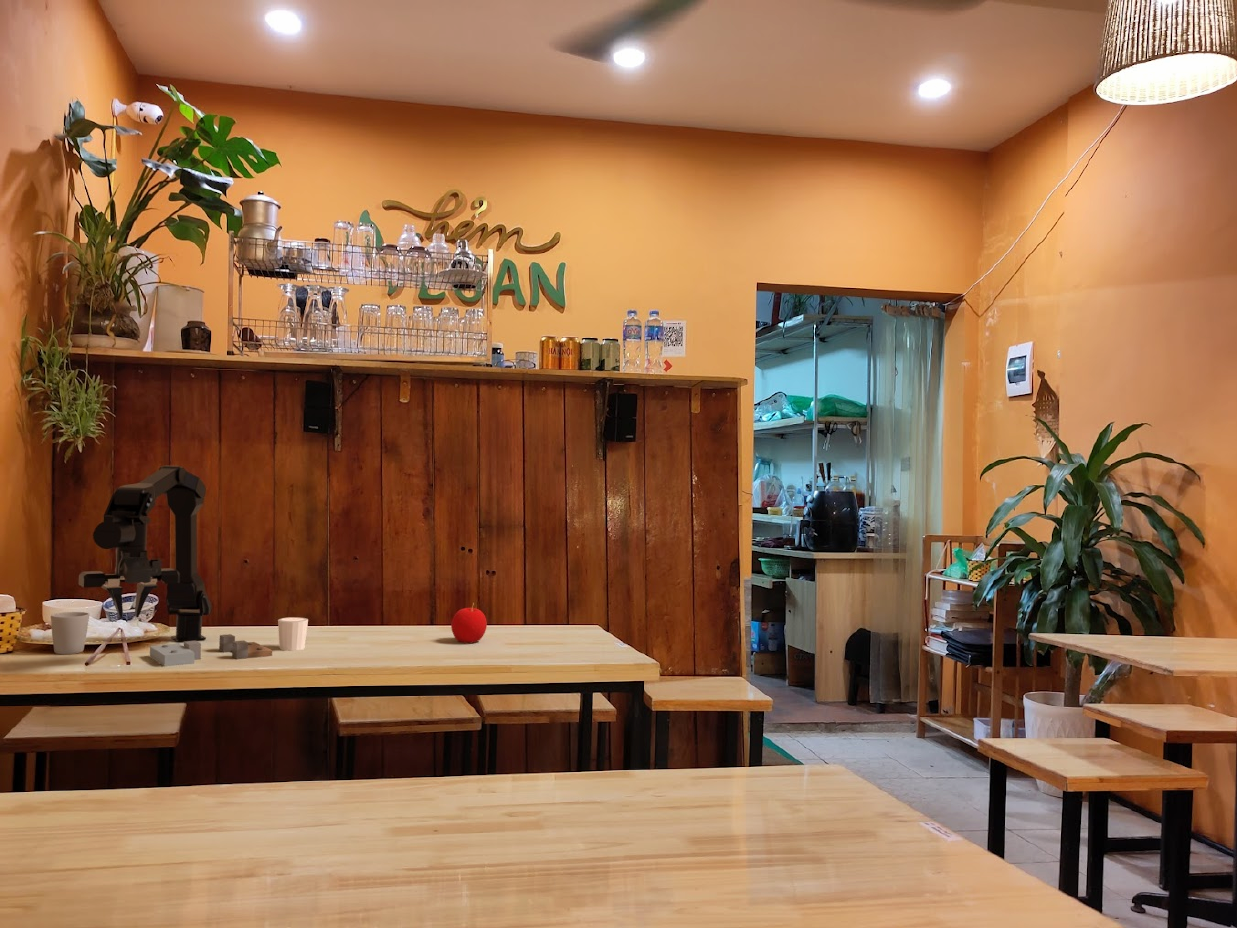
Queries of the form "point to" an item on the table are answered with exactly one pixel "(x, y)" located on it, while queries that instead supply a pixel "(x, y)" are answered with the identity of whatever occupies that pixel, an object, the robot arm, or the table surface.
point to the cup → (69, 631)
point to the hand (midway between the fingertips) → (128, 617)
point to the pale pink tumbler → (292, 633)
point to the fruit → (469, 625)
